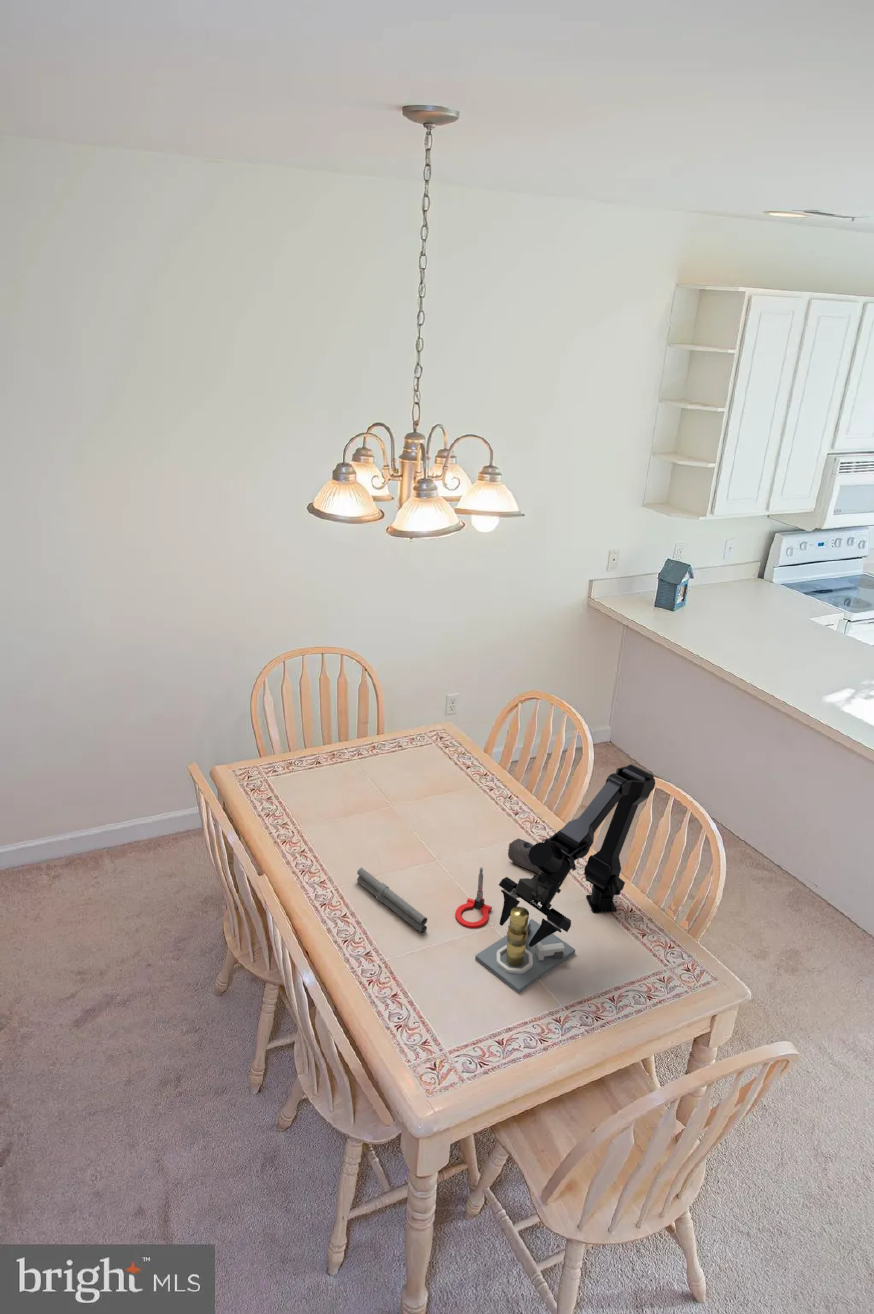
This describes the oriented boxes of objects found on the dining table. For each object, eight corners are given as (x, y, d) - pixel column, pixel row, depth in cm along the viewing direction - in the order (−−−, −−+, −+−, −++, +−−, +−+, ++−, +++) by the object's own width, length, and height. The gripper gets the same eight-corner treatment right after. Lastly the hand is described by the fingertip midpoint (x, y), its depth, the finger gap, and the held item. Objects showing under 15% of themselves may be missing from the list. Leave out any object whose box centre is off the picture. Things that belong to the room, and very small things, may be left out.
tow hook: (479, 934, 216) (495, 911, 224) (481, 893, 211) (497, 871, 218) (449, 922, 220) (465, 900, 227) (450, 882, 214) (467, 860, 222)
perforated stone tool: (562, 875, 238) (564, 855, 236) (552, 885, 234) (555, 864, 232) (515, 853, 246) (517, 833, 243) (505, 862, 242) (507, 842, 240)
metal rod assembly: (427, 931, 216) (428, 915, 214) (419, 936, 214) (420, 920, 212) (362, 879, 233) (363, 864, 231) (354, 883, 231) (354, 868, 229)
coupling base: (531, 922, 220) (533, 908, 219) (574, 953, 211) (576, 939, 209) (475, 959, 208) (476, 944, 206) (518, 993, 199) (520, 979, 197)
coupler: (505, 951, 209) (510, 904, 204) (526, 954, 208) (531, 907, 203) (503, 965, 205) (508, 918, 199) (524, 969, 204) (529, 921, 198)
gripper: (507, 848, 205) (470, 905, 203) (568, 888, 193) (530, 950, 191) (526, 862, 214) (491, 917, 211) (587, 901, 201) (550, 961, 199)
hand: (515, 935), depth 203 cm, fingers open, 9 cm apart
